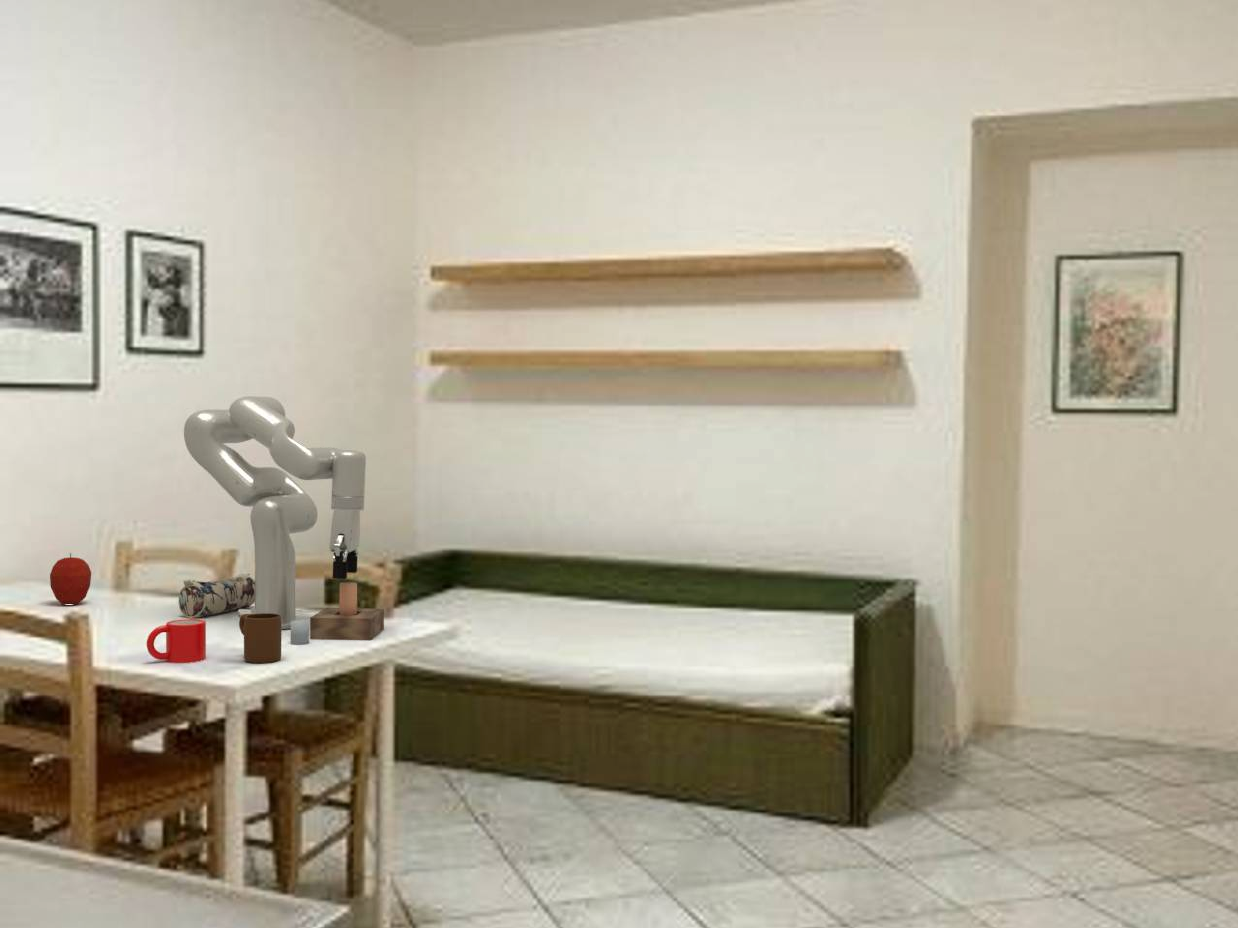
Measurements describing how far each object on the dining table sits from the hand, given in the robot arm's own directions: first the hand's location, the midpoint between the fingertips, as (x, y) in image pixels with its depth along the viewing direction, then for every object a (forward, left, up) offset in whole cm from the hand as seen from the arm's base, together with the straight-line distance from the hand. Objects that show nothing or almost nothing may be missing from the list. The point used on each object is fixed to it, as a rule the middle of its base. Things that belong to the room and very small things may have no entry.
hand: (344, 575), depth 290 cm
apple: (-82, +36, -14) cm, 91 cm away
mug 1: (-27, -33, -14) cm, 45 cm away
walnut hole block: (+1, 0, -14) cm, 14 cm away
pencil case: (-39, +27, -14) cm, 50 cm away
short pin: (-7, -12, -14) cm, 20 cm away
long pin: (+1, 0, -14) cm, 14 cm away
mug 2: (-11, -30, -14) cm, 35 cm away
